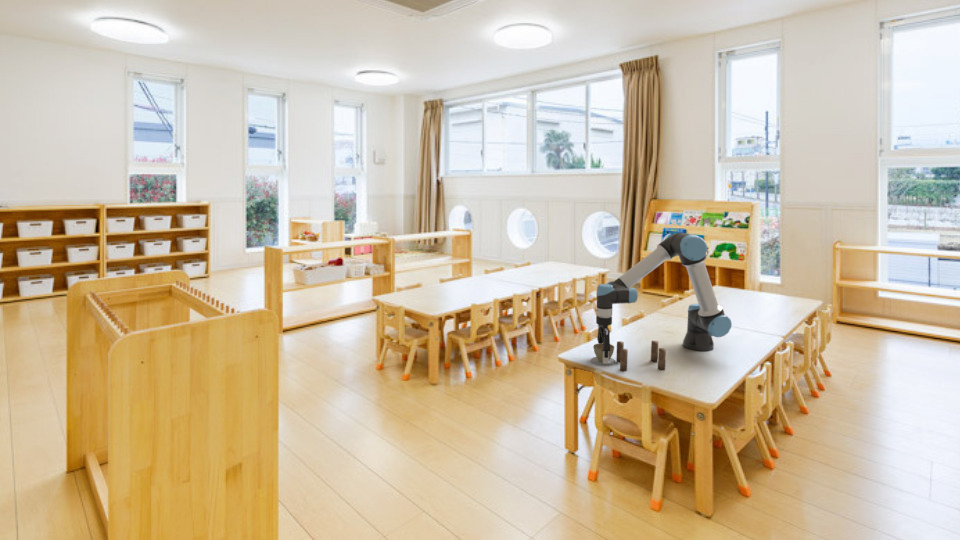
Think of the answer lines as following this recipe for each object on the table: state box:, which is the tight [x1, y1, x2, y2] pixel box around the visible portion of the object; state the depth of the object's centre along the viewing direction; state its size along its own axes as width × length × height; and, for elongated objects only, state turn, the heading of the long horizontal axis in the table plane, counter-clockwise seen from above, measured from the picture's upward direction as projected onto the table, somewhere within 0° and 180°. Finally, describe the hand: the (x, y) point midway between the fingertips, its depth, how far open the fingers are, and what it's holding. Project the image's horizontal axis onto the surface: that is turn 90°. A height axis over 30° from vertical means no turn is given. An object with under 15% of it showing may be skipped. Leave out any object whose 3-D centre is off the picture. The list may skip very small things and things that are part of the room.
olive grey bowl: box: [592, 343, 615, 362], centre depth 257 cm, size 10×10×7 cm
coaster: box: [590, 356, 617, 367], centre depth 258 cm, size 12×12×1 cm
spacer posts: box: [615, 340, 667, 372], centre depth 250 cm, size 21×15×10 cm
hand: (603, 359), depth 258 cm, fingers closed on olive grey bowl, 10 cm apart
